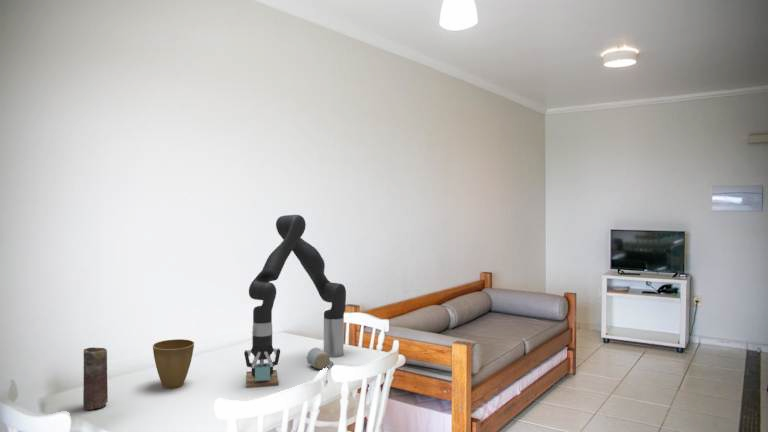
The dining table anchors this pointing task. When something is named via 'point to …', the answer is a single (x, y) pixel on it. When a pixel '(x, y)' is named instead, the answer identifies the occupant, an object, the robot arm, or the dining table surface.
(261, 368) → the collar block
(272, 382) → the pin board
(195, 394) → the dining table surface
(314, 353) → the ceramic mug
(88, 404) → the candle
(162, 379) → the plant pot
